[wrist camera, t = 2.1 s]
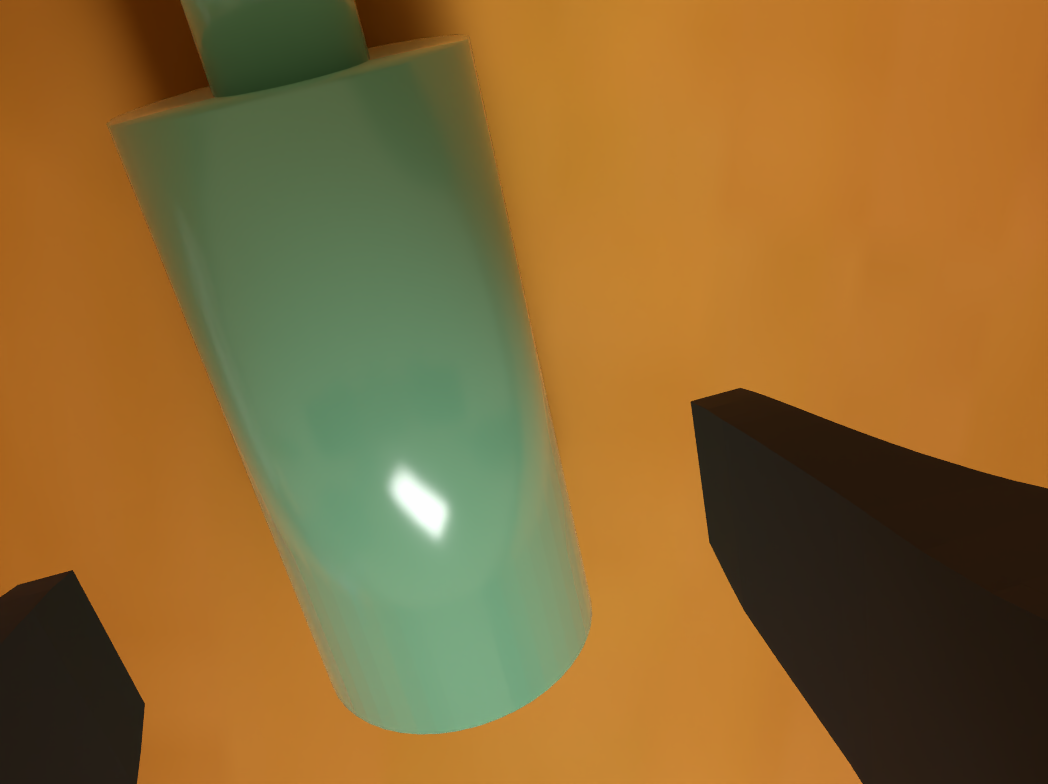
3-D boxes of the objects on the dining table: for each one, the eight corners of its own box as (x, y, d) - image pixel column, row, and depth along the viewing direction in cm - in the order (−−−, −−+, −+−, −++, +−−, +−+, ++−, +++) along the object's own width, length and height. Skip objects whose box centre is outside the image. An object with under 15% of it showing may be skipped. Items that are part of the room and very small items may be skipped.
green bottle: (559, 519, 19) (624, 683, 15) (332, 582, 19) (326, 770, 14) (392, -231, 13) (413, -342, 9) (52, -158, 13) (-109, -236, 8)
